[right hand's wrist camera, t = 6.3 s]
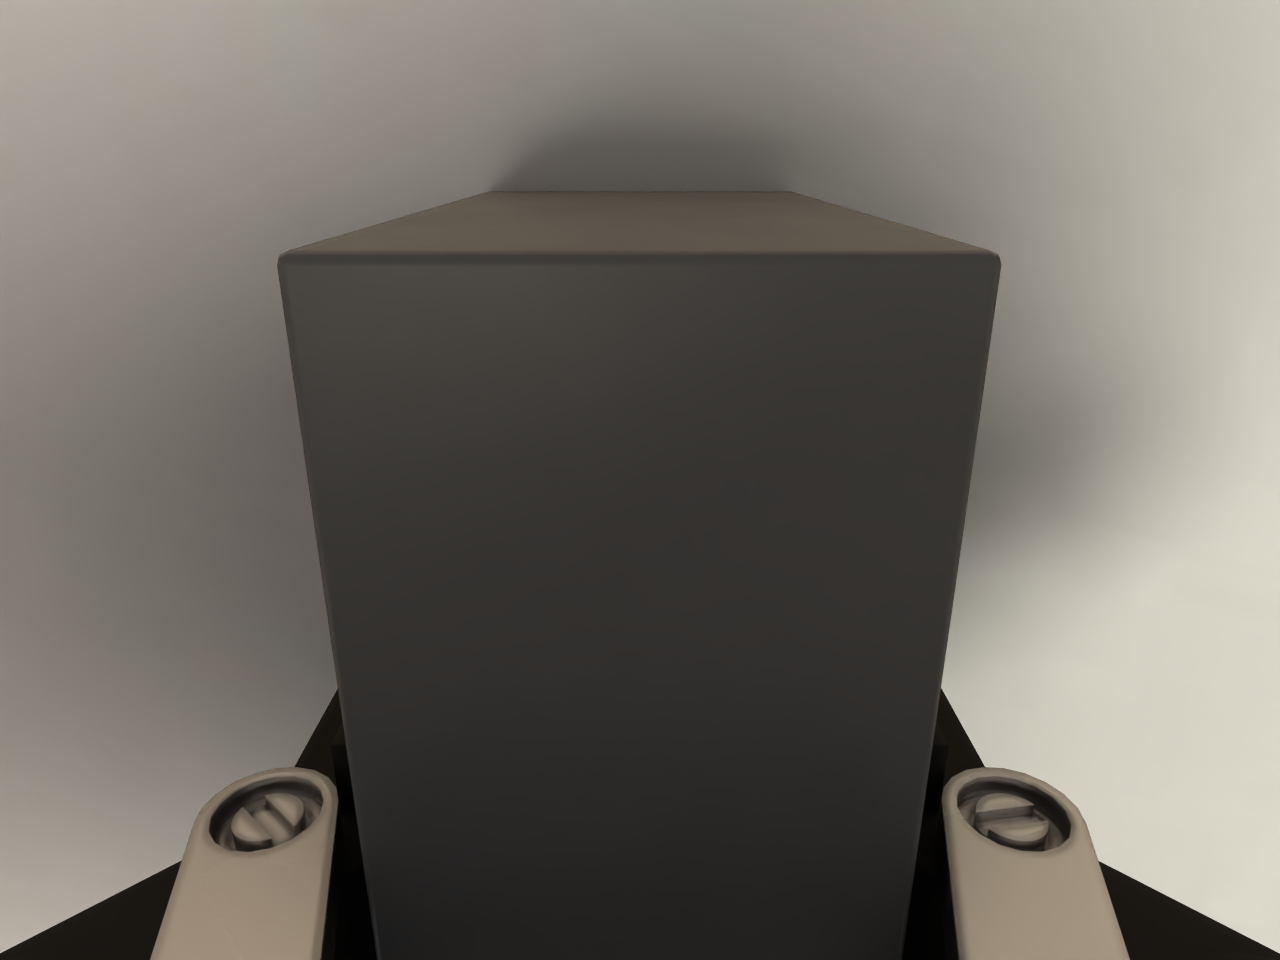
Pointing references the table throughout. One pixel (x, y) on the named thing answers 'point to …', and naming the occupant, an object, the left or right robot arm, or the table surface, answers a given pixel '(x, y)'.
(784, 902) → the post
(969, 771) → the right robot arm
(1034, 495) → the table surface
